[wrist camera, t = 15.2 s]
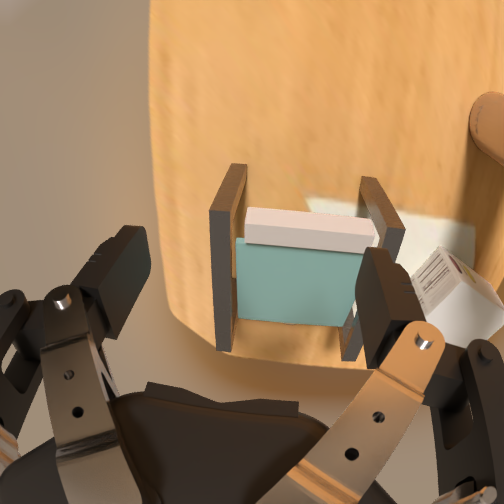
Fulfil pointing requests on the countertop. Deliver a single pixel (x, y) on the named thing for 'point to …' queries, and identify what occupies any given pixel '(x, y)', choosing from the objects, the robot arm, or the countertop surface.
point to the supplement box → (457, 299)
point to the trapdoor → (299, 266)
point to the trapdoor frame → (221, 255)
